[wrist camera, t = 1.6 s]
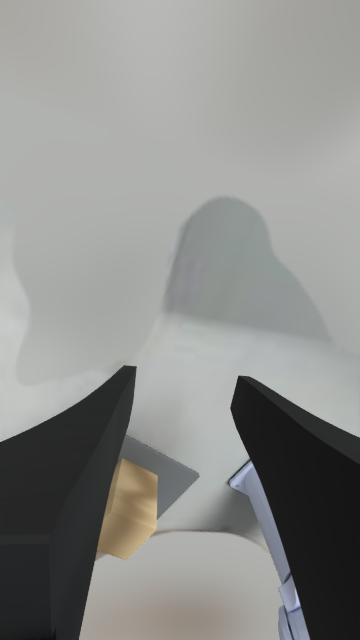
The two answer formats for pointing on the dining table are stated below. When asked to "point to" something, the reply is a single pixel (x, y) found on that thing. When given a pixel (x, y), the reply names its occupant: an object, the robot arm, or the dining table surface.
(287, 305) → the dining table surface
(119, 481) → the oak block
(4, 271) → the dining table surface
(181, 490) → the mat
